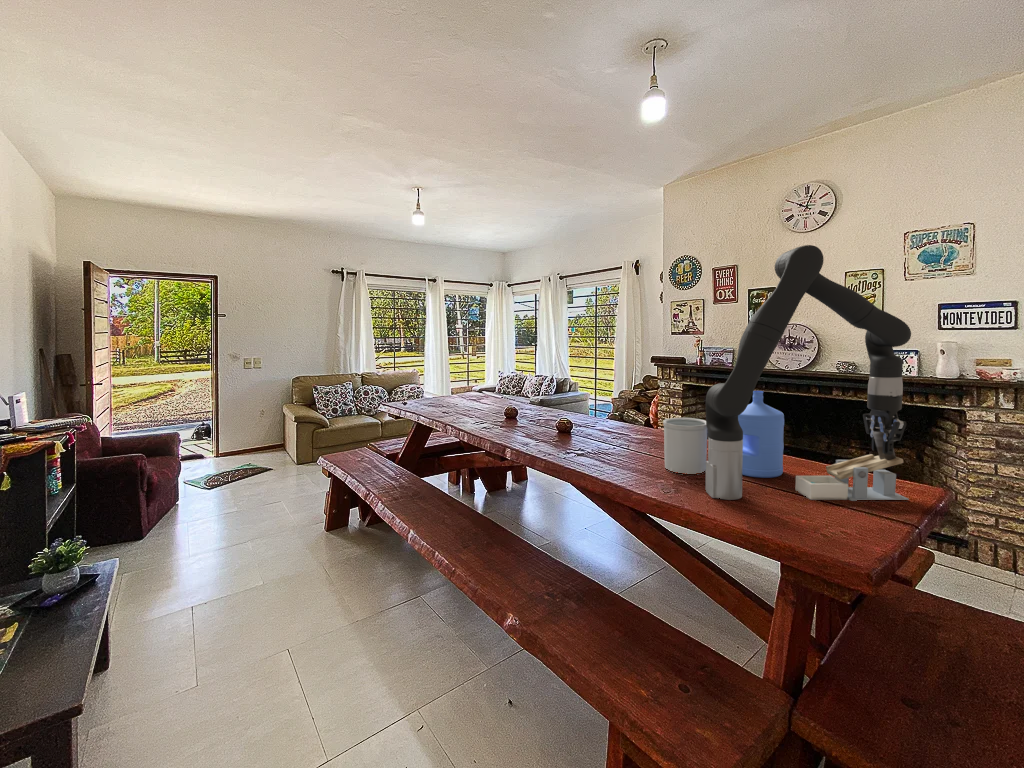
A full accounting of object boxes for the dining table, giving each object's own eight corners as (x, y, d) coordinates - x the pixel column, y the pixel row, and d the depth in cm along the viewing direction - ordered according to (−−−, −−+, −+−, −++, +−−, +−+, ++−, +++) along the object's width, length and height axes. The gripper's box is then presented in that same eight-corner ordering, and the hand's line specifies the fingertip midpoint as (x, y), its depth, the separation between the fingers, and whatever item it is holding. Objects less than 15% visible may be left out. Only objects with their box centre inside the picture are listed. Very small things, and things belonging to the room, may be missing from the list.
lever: (840, 479, 125) (832, 449, 124) (827, 473, 131) (819, 444, 130) (903, 462, 123) (895, 431, 122) (887, 457, 129) (879, 427, 128)
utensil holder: (715, 475, 150) (715, 424, 148) (671, 476, 150) (671, 425, 149) (697, 463, 165) (698, 417, 163) (657, 464, 165) (657, 418, 163)
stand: (850, 500, 123) (852, 468, 122) (829, 489, 133) (830, 459, 132) (908, 500, 122) (910, 468, 121) (883, 489, 131) (884, 459, 131)
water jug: (769, 465, 159) (771, 388, 156) (792, 478, 144) (794, 393, 141) (724, 465, 161) (725, 389, 158) (742, 478, 145) (743, 394, 143)
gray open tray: (810, 499, 125) (811, 484, 125) (795, 490, 133) (795, 475, 133) (847, 499, 124) (848, 484, 124) (829, 490, 132) (830, 475, 132)
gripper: (853, 390, 132) (851, 446, 133) (889, 396, 118) (886, 459, 119) (880, 389, 131) (878, 446, 132) (919, 395, 117) (916, 458, 118)
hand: (882, 452), depth 126 cm, fingers closed on lever, 3 cm apart
